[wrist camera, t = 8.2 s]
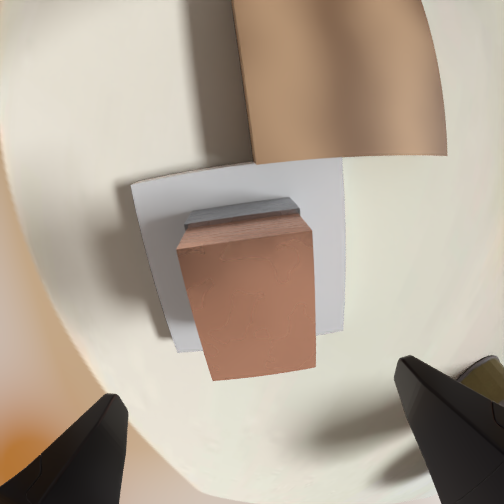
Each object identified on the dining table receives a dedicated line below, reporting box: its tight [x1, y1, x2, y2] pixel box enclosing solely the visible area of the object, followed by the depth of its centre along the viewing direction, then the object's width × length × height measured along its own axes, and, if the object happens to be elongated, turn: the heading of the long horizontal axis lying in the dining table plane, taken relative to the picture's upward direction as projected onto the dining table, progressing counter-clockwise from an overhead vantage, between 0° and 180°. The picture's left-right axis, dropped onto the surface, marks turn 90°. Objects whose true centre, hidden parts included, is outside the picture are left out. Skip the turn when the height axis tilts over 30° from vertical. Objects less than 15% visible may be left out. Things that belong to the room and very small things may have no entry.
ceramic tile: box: [131, 157, 346, 353], centre depth 17 cm, size 11×11×2 cm
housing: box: [176, 197, 316, 381], centre depth 14 cm, size 7×5×5 cm
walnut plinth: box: [231, 0, 447, 165], centre depth 12 cm, size 11×11×2 cm
